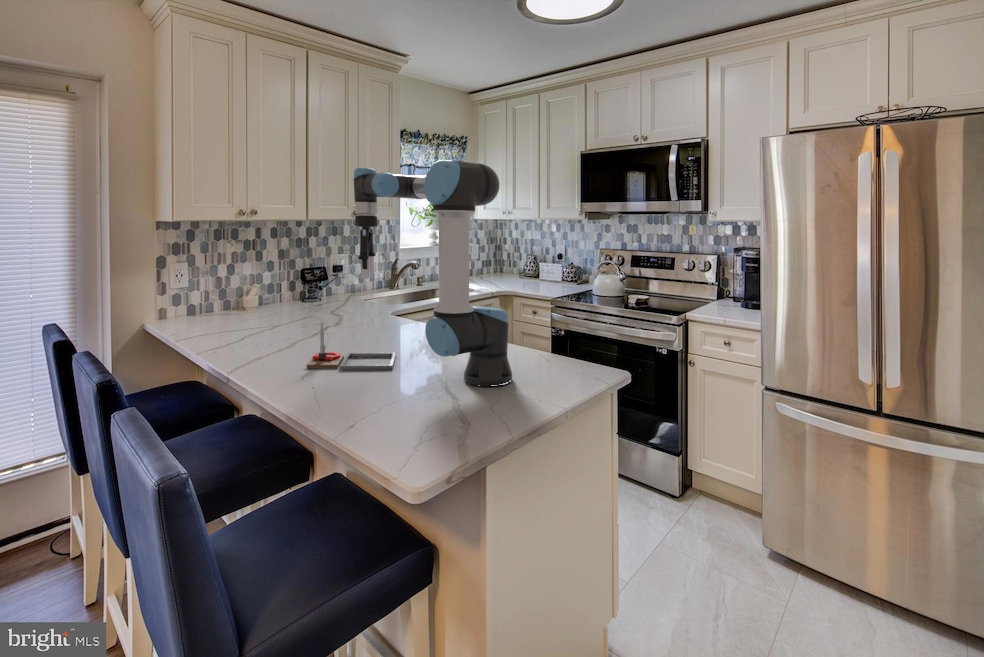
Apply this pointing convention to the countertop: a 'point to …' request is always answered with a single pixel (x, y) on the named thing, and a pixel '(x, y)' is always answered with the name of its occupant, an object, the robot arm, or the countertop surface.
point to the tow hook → (322, 353)
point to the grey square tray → (368, 367)
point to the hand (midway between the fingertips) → (367, 276)
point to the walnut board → (325, 363)
